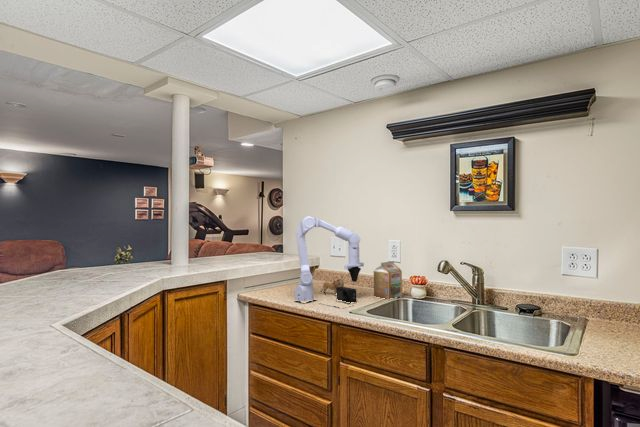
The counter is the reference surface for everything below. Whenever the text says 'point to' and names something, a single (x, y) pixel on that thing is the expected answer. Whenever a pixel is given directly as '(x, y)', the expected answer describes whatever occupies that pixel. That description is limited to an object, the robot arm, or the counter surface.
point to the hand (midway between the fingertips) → (354, 281)
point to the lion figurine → (333, 285)
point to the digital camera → (346, 294)
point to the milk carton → (388, 280)
